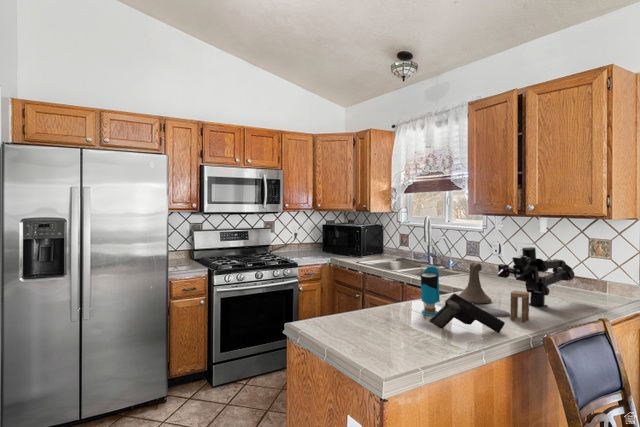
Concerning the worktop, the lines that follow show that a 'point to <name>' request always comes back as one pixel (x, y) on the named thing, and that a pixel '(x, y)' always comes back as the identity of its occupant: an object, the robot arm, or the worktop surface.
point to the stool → (514, 305)
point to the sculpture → (474, 287)
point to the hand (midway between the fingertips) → (506, 277)
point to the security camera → (430, 289)
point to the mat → (497, 312)
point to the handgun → (464, 314)
